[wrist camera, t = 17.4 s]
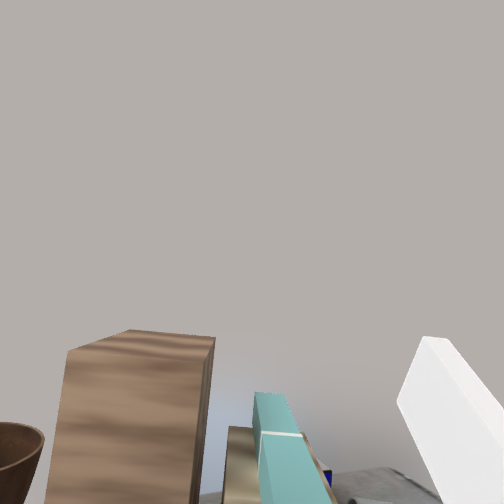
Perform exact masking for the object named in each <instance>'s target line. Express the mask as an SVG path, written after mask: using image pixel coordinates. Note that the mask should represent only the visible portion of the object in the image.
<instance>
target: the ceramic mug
mask: <svg viewBox="0 0 504 504" xmlns="http://www.w3.org/2000/svg"><path fill="white" fill-rule="evenodd" d="M347 504H394V503H391V502H386V501H378V500H372V499H367V498H361V497H351V498H350V499H349V500H348V503H347Z"/></svg>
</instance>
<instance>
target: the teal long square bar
mask: <svg viewBox="0 0 504 504" xmlns="http://www.w3.org/2000/svg"><path fill="white" fill-rule="evenodd" d="M252 425H253V434H254V443H255V452H256V461H257V470H258V474H257V475H258V479H259V488H260V497H261V504H332V502H331V500H330V498H329V495H328V493H327V491H326V489H325V486H324V484H323V482H322V480H321V477H320V475H319V473H318V471H317V469H316V466H315V464H314V462H313V460H312V457H311V455H310V453H309V451H308V448H307V446H306V444H305V442H304V439H303V436H302V434H301V433H300V431H299V428H298V426H297V424H296V422H295V419H294V417H293V415H292V413H291V410H290V408H289V406H288V404H287V401H286V399H285V397H284V395H282V394H272V393H259V392H255V396H254V408H253V420H252Z"/></svg>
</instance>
